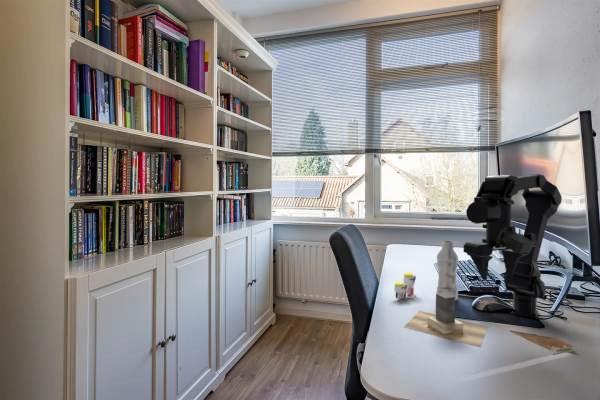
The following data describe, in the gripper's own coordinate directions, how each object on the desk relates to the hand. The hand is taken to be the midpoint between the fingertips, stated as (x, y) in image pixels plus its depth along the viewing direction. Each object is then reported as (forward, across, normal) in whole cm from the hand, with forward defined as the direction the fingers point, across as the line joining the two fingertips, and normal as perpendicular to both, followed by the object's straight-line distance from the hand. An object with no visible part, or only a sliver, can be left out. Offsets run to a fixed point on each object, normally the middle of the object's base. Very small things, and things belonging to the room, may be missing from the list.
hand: (497, 278), depth 88 cm
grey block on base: (+12, -17, +1) cm, 21 cm away
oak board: (+13, -15, +2) cm, 20 cm away
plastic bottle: (+13, 0, +19) cm, 23 cm away
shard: (+14, 0, -12) cm, 18 cm away
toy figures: (+13, -10, +26) cm, 31 cm away
